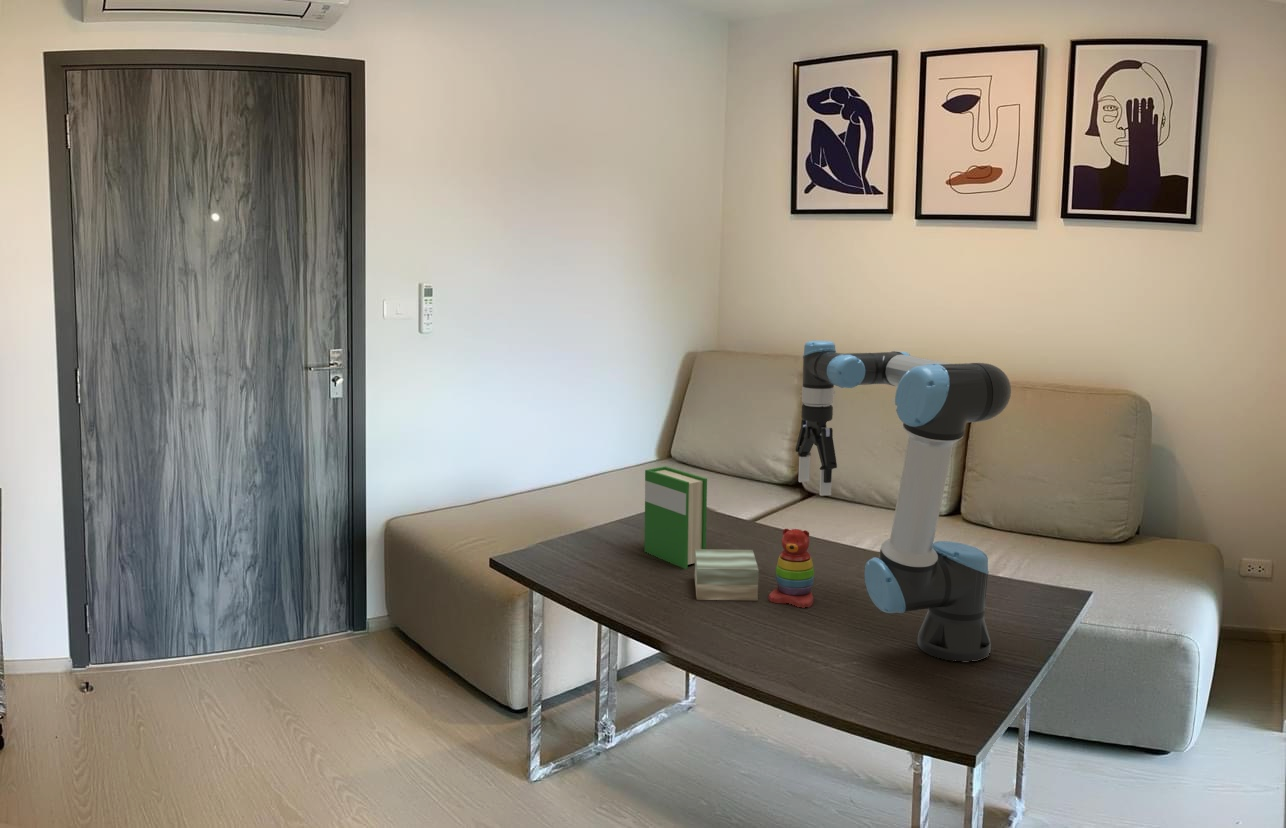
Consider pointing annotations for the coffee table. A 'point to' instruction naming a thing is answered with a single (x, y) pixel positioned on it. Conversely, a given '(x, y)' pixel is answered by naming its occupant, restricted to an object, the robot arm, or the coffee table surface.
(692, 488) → the hardback book
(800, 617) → the coffee table surface
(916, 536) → the robot arm
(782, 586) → the stacking bear
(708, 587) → the tower base
